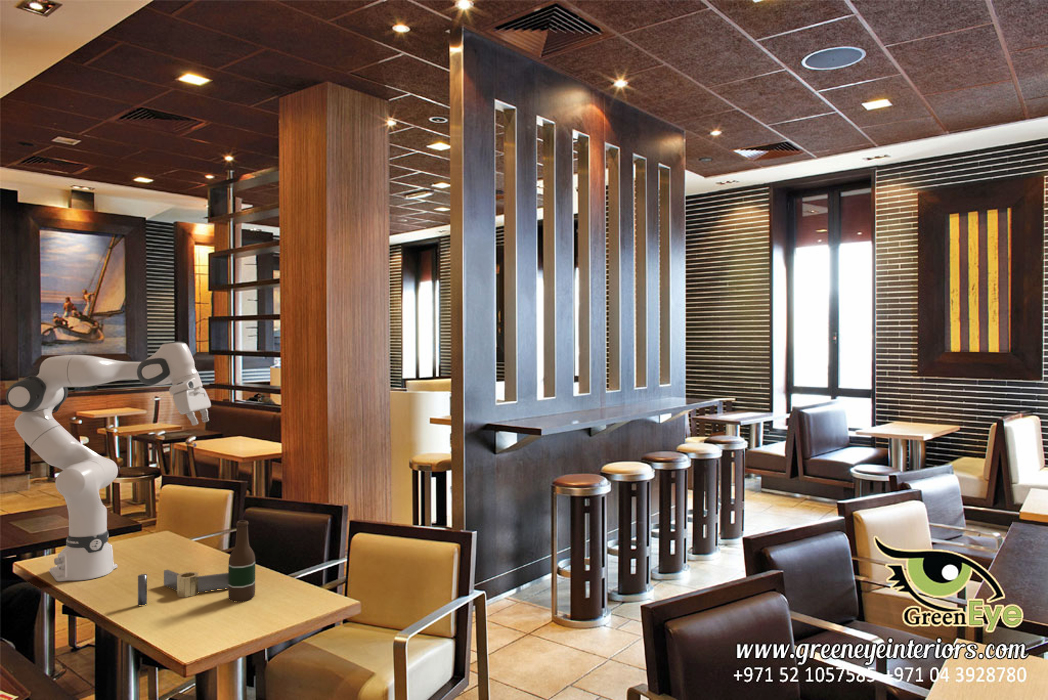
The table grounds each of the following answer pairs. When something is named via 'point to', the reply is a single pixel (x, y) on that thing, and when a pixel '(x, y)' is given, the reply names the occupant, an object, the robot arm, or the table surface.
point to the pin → (142, 589)
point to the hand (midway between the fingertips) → (201, 423)
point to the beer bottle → (241, 566)
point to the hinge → (194, 582)
